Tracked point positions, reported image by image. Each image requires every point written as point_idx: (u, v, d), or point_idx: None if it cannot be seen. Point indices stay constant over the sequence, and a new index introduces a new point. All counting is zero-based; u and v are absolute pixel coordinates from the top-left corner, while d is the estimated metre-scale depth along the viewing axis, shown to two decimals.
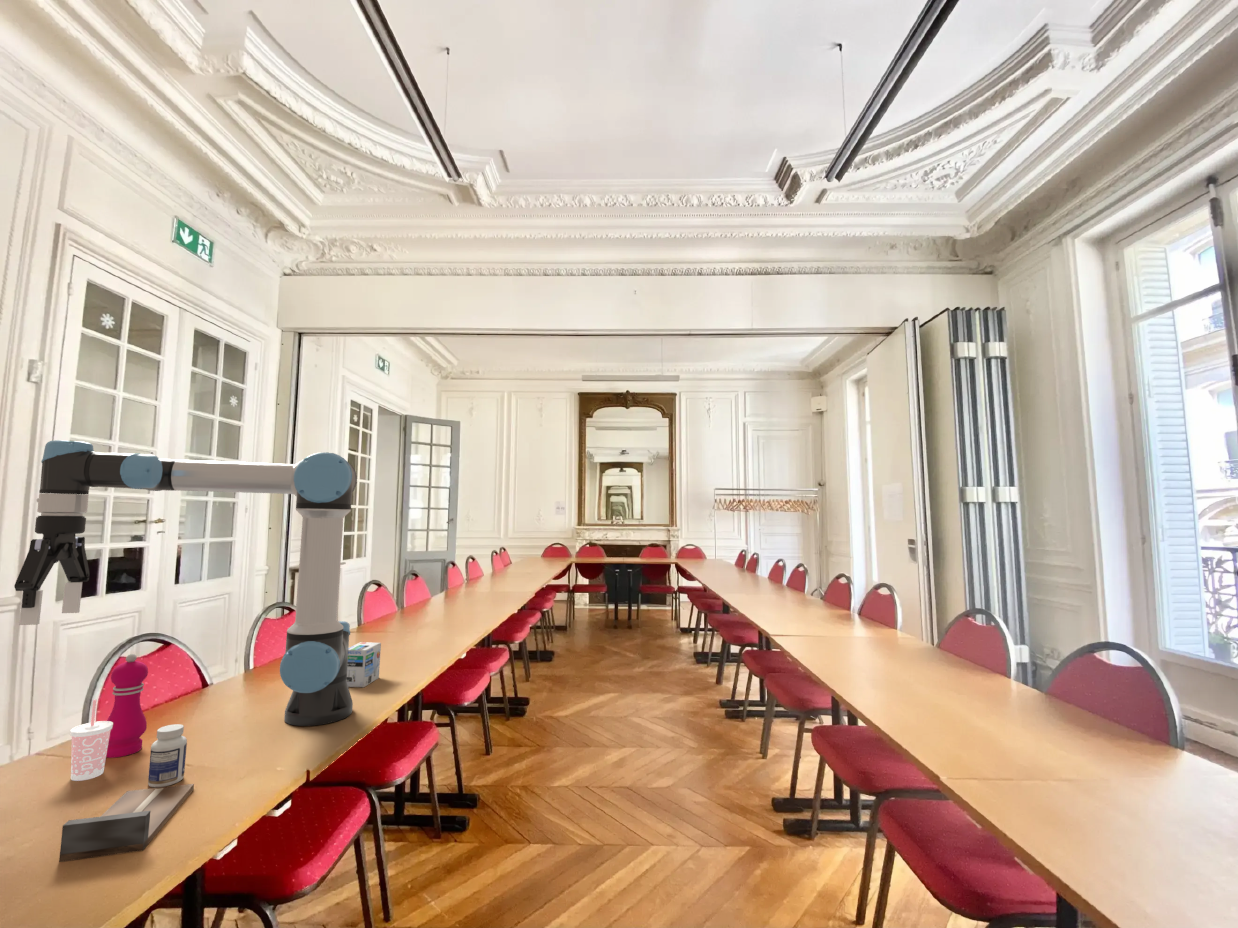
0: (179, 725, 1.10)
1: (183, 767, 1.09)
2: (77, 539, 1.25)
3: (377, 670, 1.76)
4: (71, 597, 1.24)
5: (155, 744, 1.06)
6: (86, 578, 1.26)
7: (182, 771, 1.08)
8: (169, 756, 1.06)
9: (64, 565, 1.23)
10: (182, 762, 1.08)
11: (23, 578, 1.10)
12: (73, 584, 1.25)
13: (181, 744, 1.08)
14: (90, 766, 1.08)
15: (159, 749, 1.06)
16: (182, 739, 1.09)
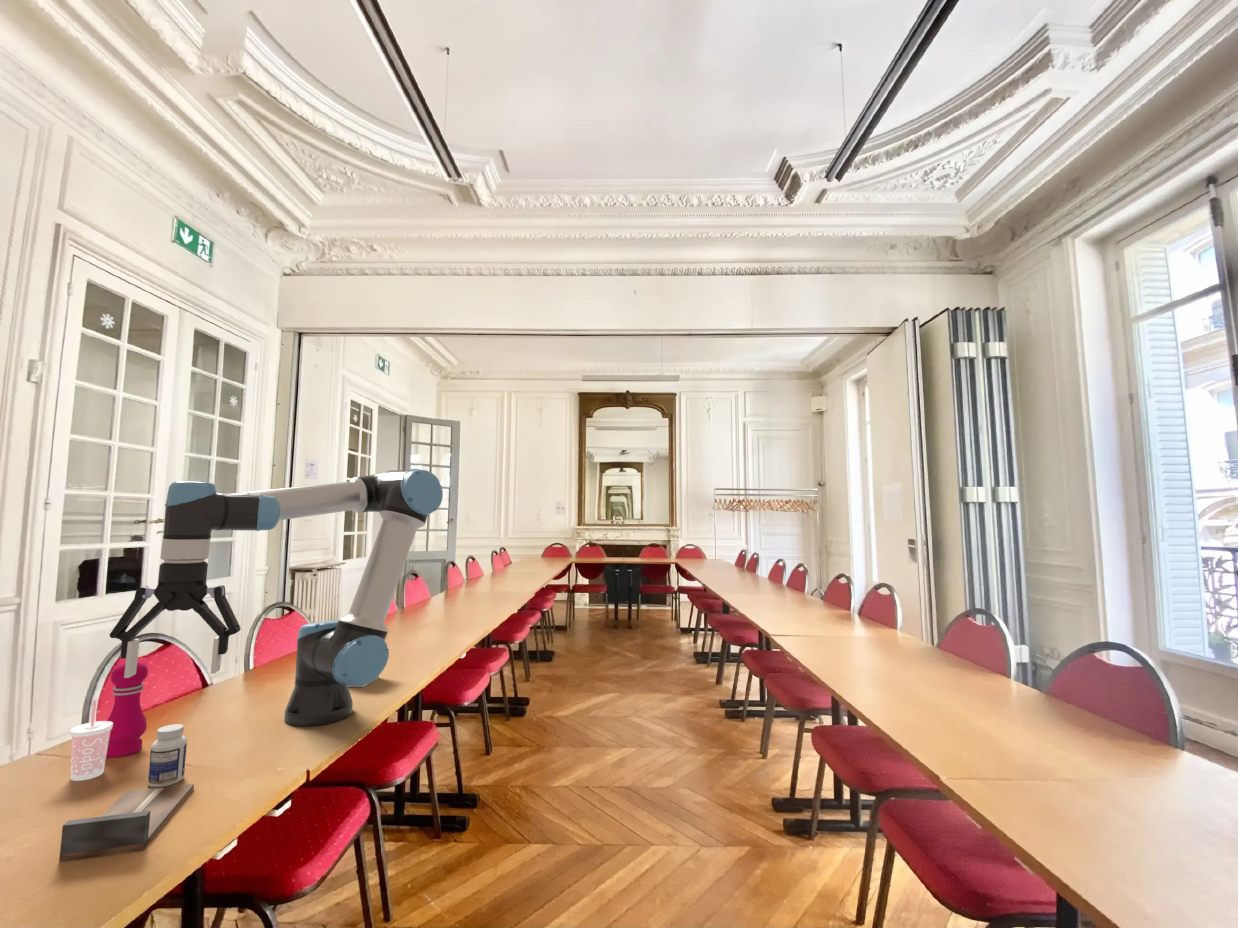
0: (179, 725, 1.10)
1: (183, 767, 1.09)
2: None
3: None
4: None
5: (155, 744, 1.06)
6: (222, 635, 1.11)
7: (182, 771, 1.08)
8: (169, 756, 1.06)
9: None
10: (182, 762, 1.08)
11: None
12: None
13: (181, 744, 1.08)
14: (90, 766, 1.08)
15: (159, 749, 1.06)
16: (182, 739, 1.09)
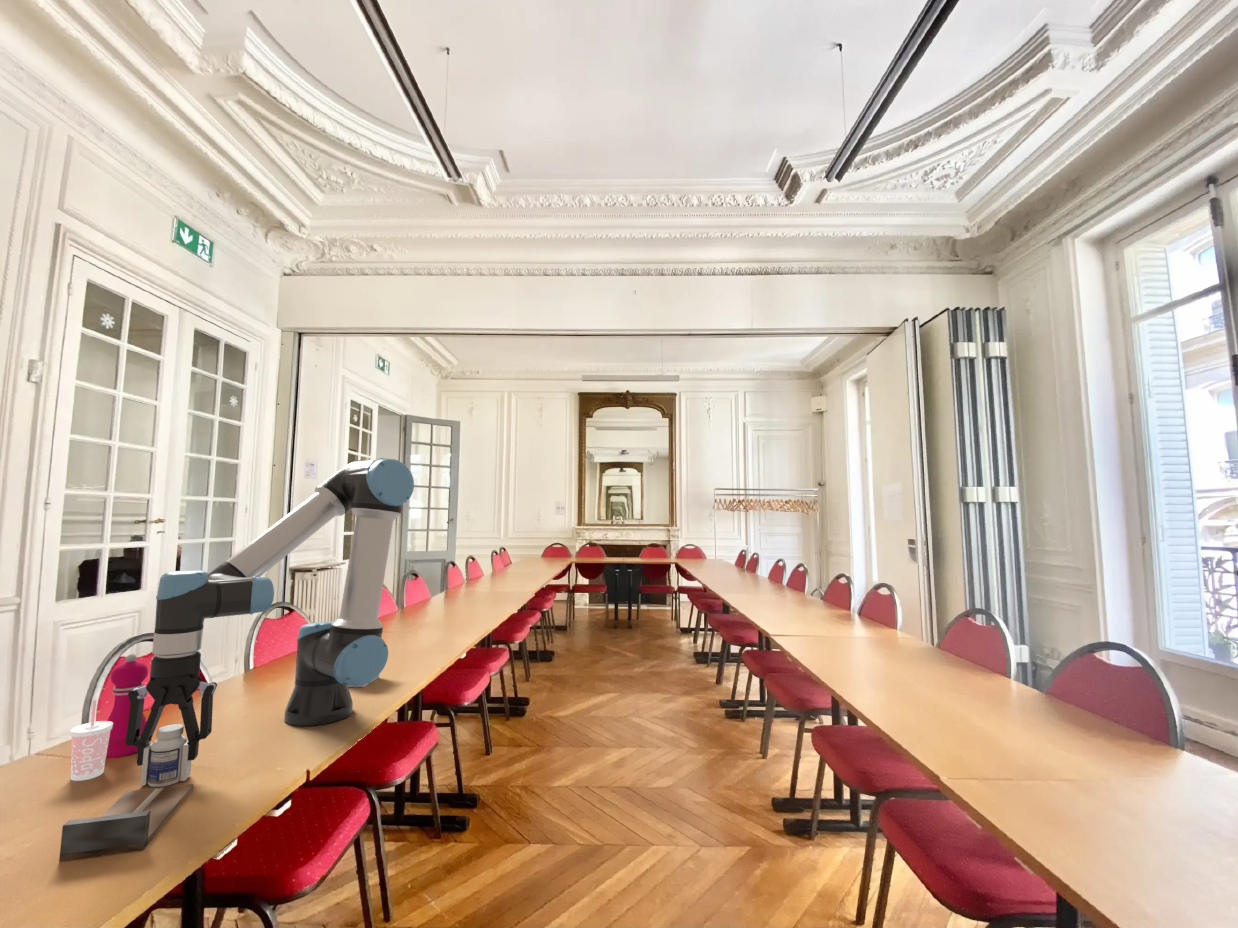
0: (179, 725, 1.10)
1: None
2: (206, 686, 1.10)
3: None
4: None
5: (155, 744, 1.06)
6: (191, 741, 1.08)
7: None
8: (168, 756, 1.06)
9: None
10: None
11: None
12: None
13: (181, 744, 1.08)
14: (90, 766, 1.08)
15: (159, 749, 1.06)
16: (182, 738, 1.09)
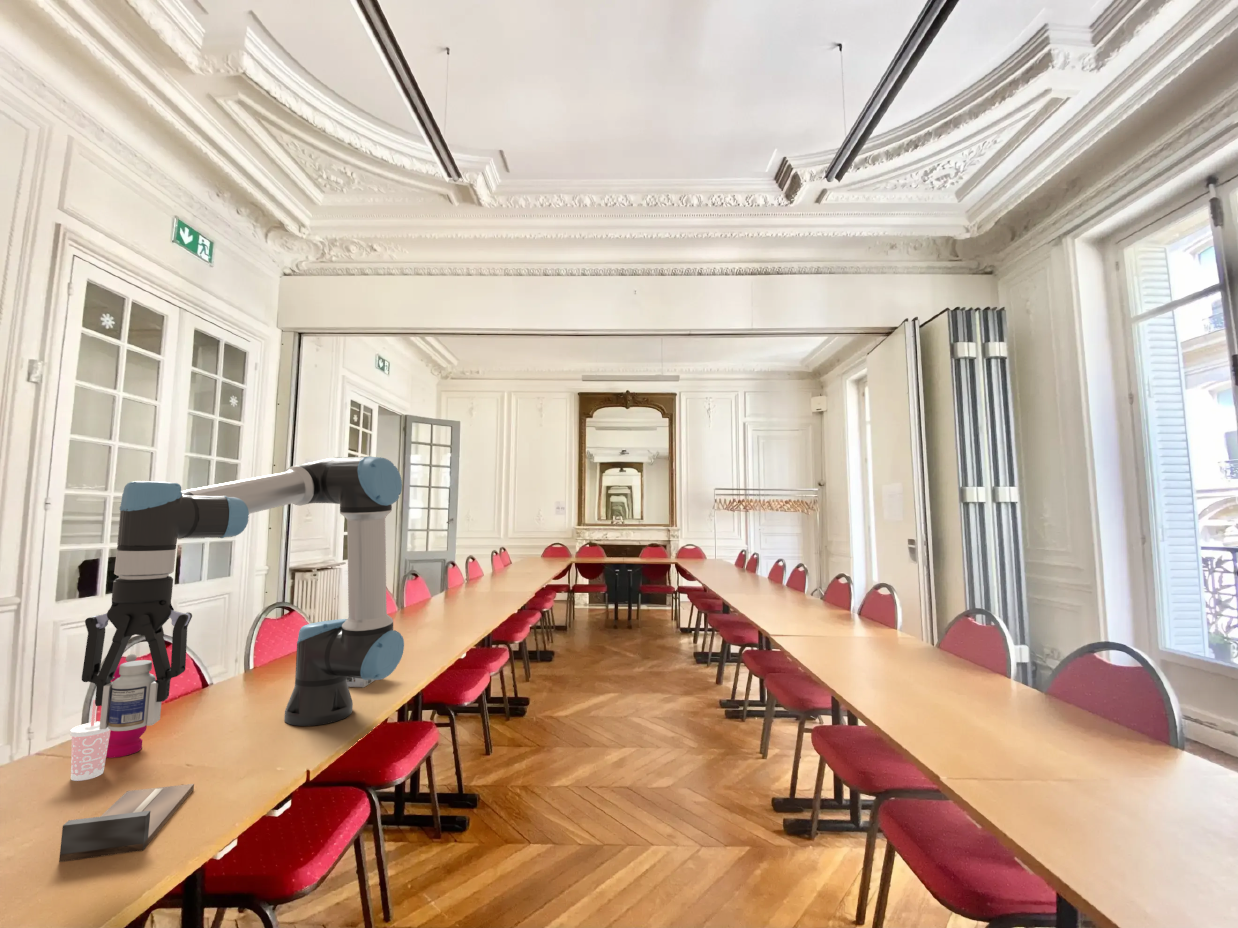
0: (147, 661, 0.93)
1: None
2: (179, 616, 0.94)
3: None
4: None
5: (117, 681, 0.90)
6: (160, 679, 0.91)
7: None
8: (133, 695, 0.90)
9: None
10: None
11: None
12: None
13: (148, 682, 0.91)
14: (90, 766, 1.08)
15: (121, 686, 0.89)
16: (150, 676, 0.92)
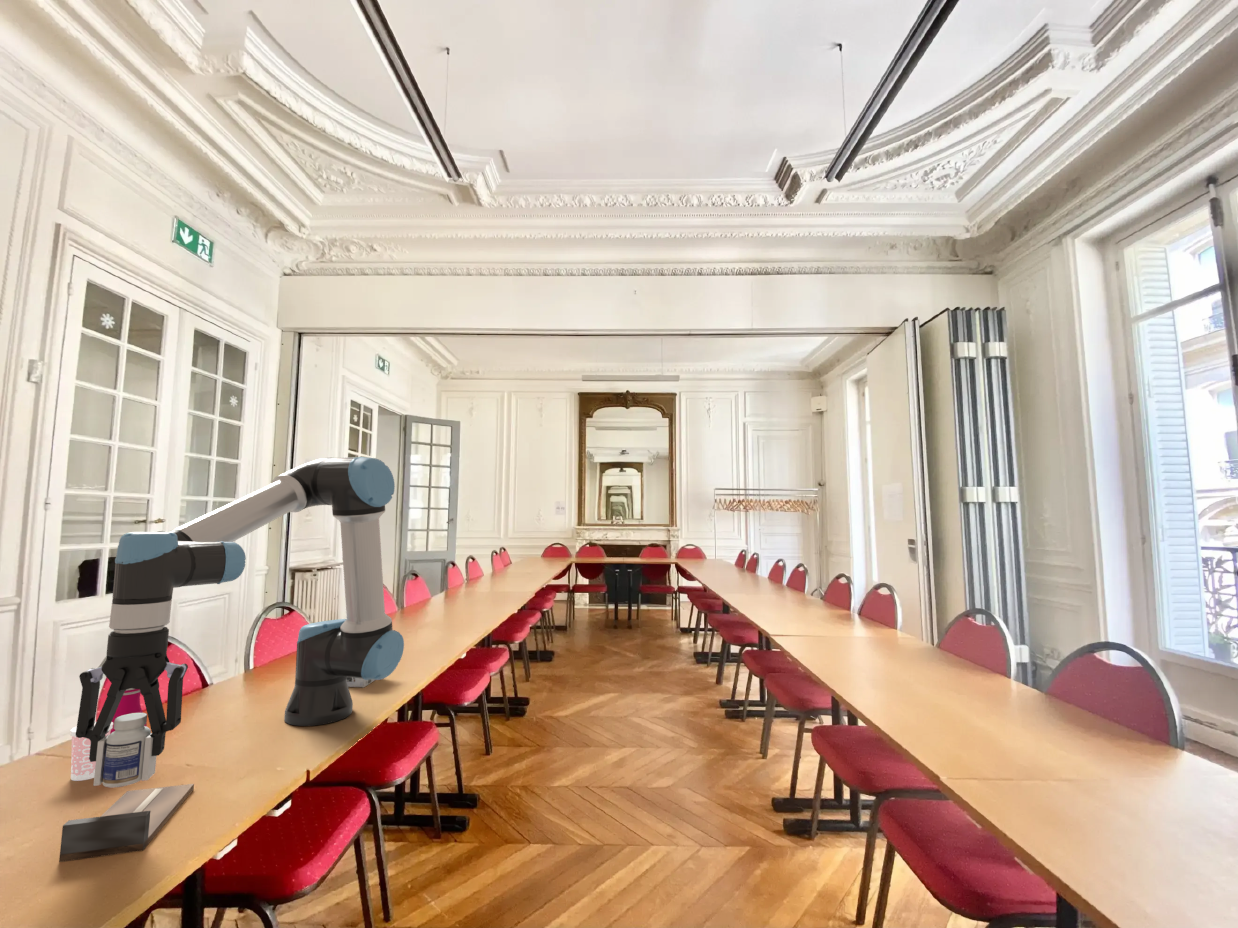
0: (142, 714, 0.92)
1: None
2: (175, 668, 0.93)
3: None
4: None
5: (111, 736, 0.89)
6: (155, 733, 0.91)
7: None
8: (127, 750, 0.89)
9: None
10: None
11: None
12: None
13: (143, 736, 0.90)
14: (90, 766, 1.08)
15: (116, 741, 0.88)
16: (145, 729, 0.91)
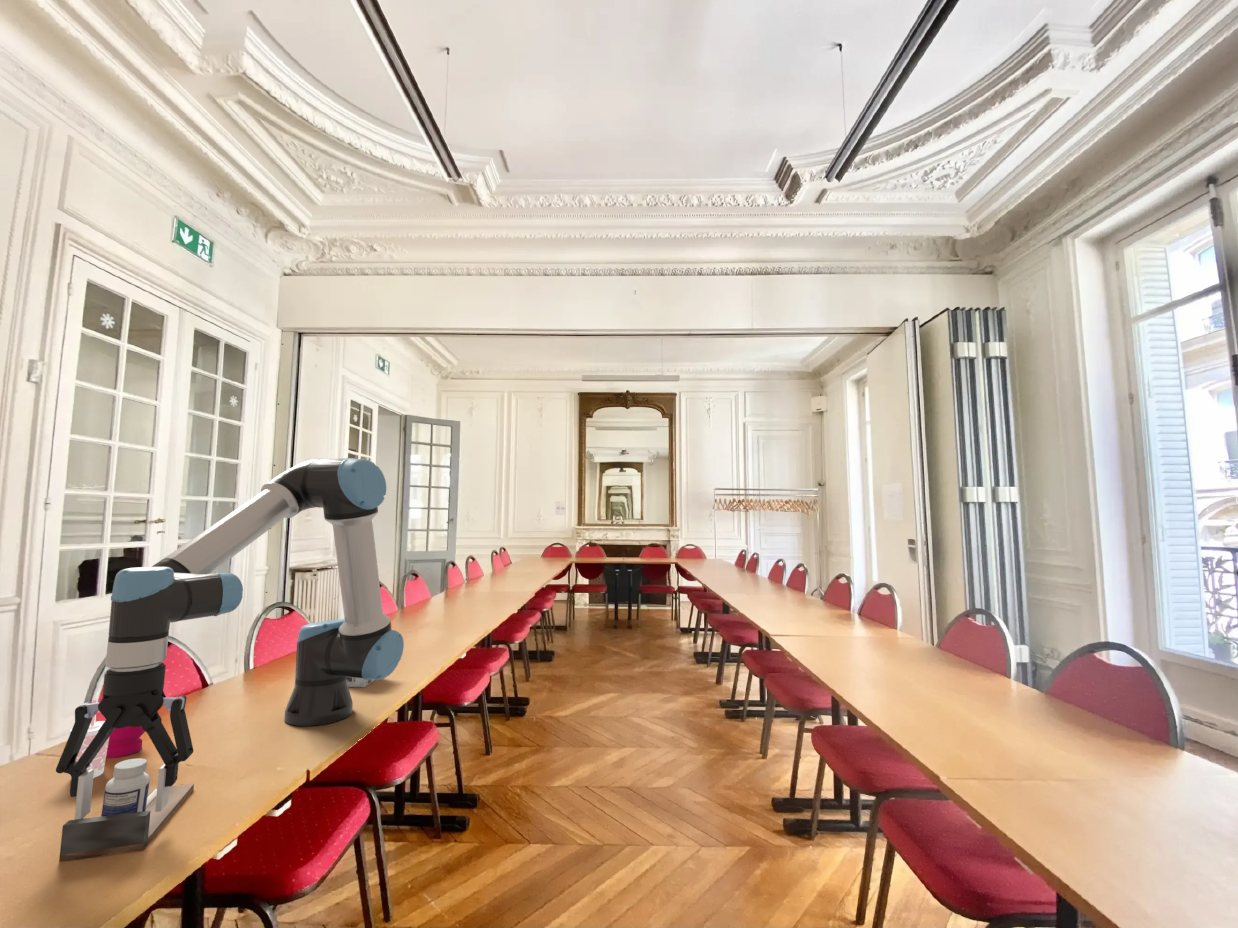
0: (142, 760, 0.92)
1: None
2: (172, 701, 0.93)
3: None
4: None
5: (110, 783, 0.88)
6: (169, 764, 0.91)
7: None
8: (126, 799, 0.88)
9: None
10: (142, 805, 0.90)
11: None
12: None
13: (142, 784, 0.90)
14: (90, 766, 1.08)
15: (115, 790, 0.88)
16: (144, 777, 0.91)
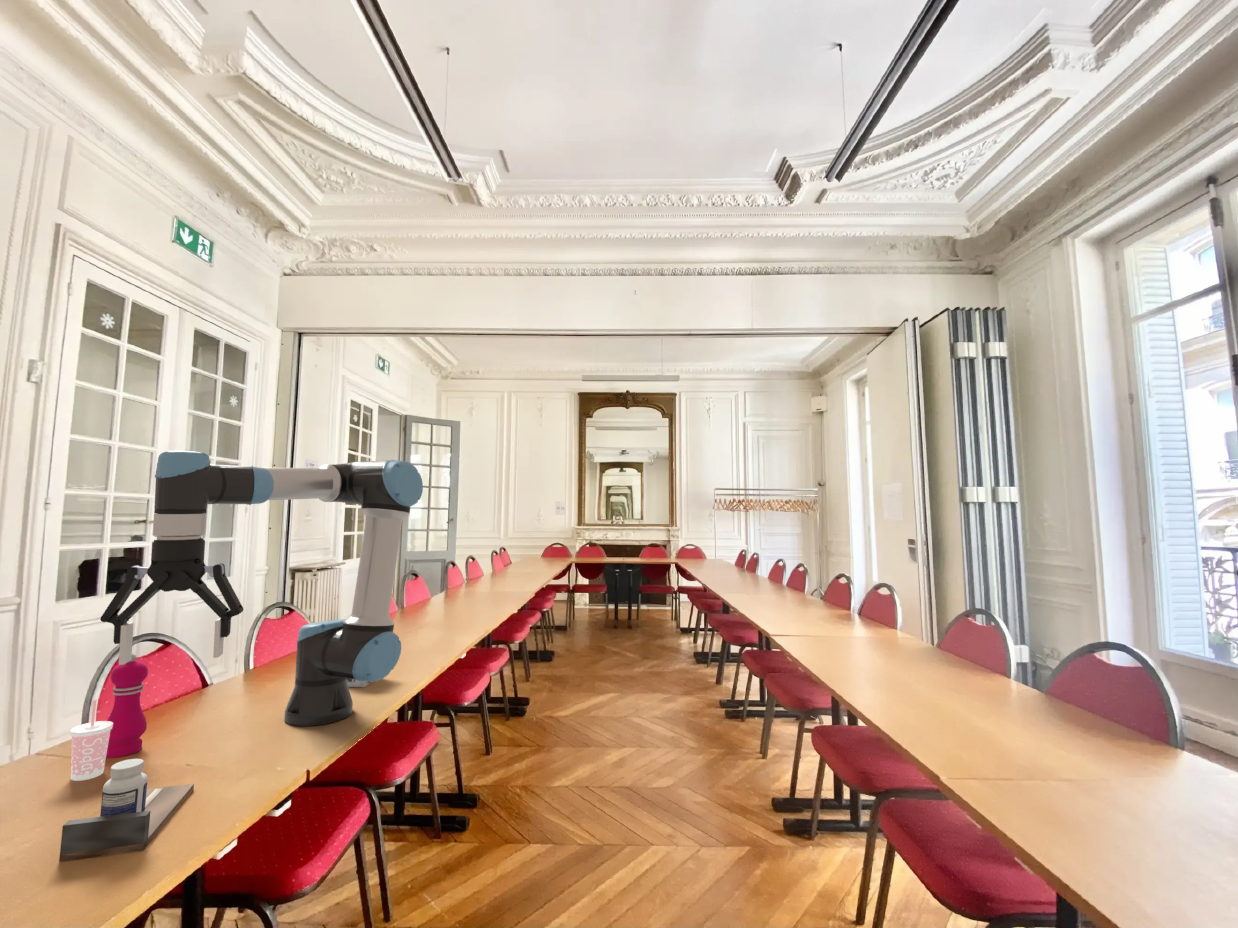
0: (138, 760, 0.92)
1: (142, 811, 0.91)
2: None
3: None
4: None
5: (108, 784, 0.88)
6: (224, 616, 1.03)
7: None
8: (124, 799, 0.88)
9: None
10: (141, 805, 0.90)
11: None
12: None
13: (140, 783, 0.90)
14: (90, 766, 1.08)
15: (112, 790, 0.88)
16: (141, 776, 0.91)
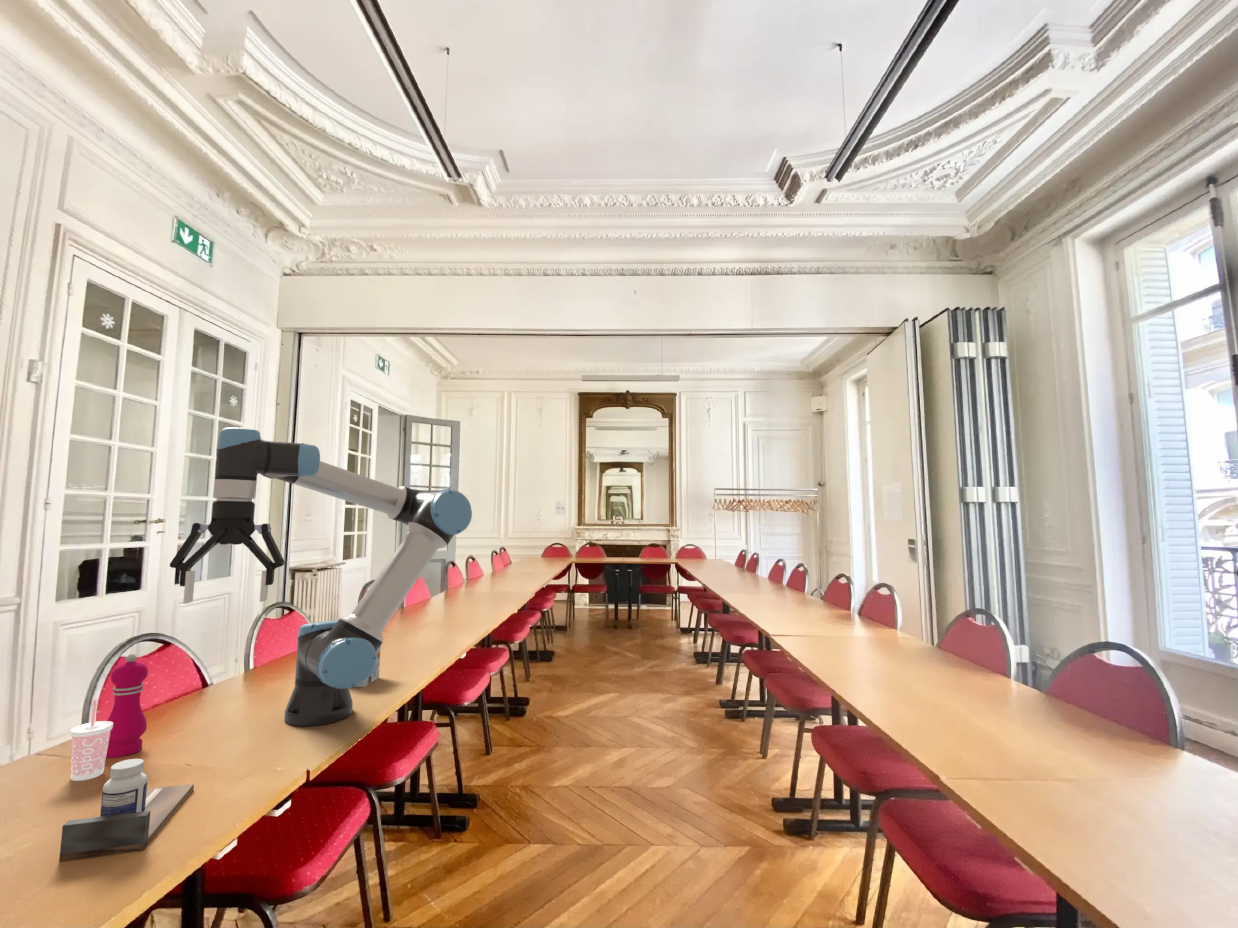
0: (138, 760, 0.92)
1: (142, 811, 0.91)
2: None
3: (377, 670, 1.76)
4: None
5: (108, 784, 0.88)
6: (269, 567, 1.22)
7: None
8: (124, 799, 0.88)
9: None
10: (141, 805, 0.90)
11: None
12: None
13: (140, 783, 0.90)
14: (90, 766, 1.08)
15: (112, 790, 0.88)
16: (141, 776, 0.91)
